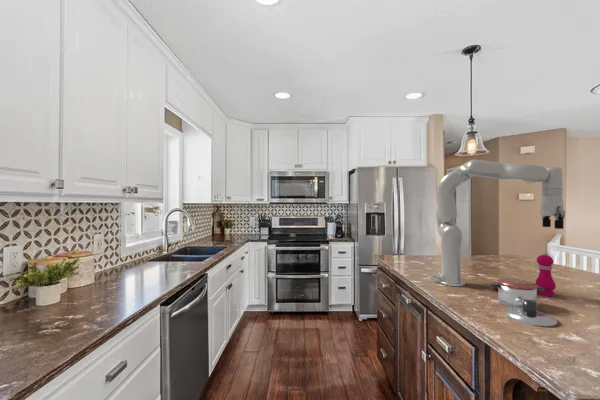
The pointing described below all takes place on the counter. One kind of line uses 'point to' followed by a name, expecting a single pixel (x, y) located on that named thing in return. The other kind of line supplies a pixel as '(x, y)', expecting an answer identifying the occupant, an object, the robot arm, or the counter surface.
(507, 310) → the lid
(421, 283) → the counter surface
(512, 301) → the pot
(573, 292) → the counter surface
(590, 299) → the counter surface
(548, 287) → the pepper mill
